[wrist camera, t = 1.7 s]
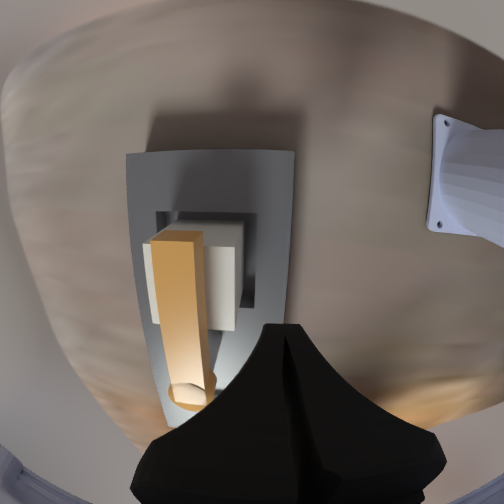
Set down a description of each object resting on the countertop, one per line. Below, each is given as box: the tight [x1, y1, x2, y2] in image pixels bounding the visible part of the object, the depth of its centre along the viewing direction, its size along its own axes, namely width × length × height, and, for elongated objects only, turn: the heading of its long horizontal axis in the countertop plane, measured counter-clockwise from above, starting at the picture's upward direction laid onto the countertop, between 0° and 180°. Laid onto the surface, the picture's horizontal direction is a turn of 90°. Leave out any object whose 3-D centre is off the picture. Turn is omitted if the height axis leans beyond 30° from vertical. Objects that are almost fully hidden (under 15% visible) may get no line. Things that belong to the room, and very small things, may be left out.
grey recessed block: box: [126, 149, 295, 428], centre depth 16 cm, size 9×22×6 cm, turn 179°
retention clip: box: [150, 230, 217, 412], centre depth 11 cm, size 2×9×2 cm, turn 179°
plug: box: [143, 219, 245, 331], centre depth 14 cm, size 4×4×5 cm
